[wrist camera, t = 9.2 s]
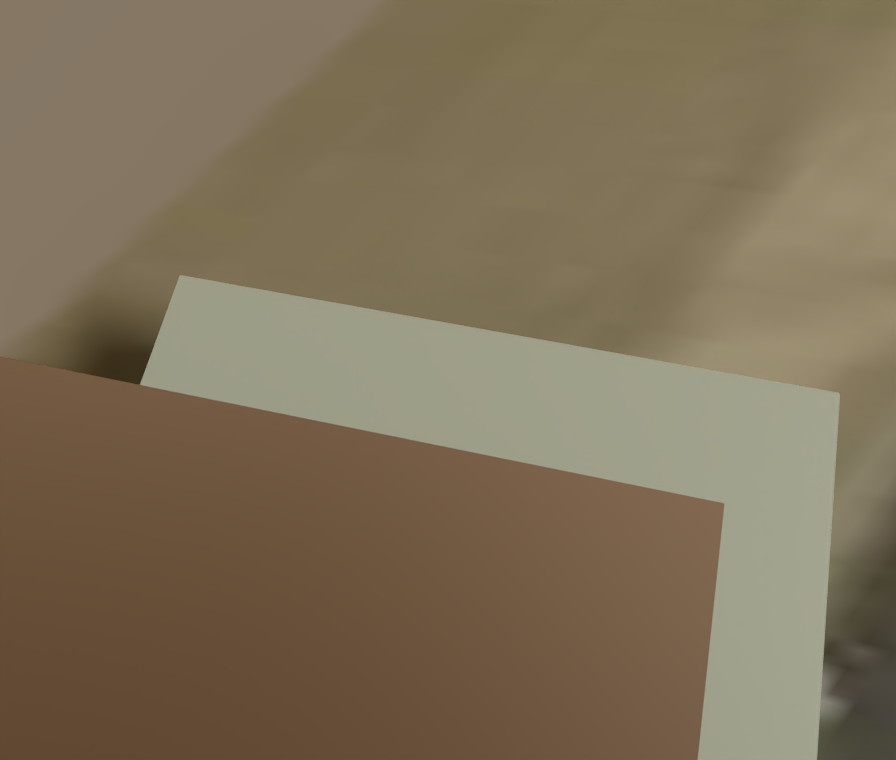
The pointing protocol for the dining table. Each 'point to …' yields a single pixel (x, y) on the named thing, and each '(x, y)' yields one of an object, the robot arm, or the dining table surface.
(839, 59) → the dining table surface
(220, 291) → the socket block
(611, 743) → the walnut peg
